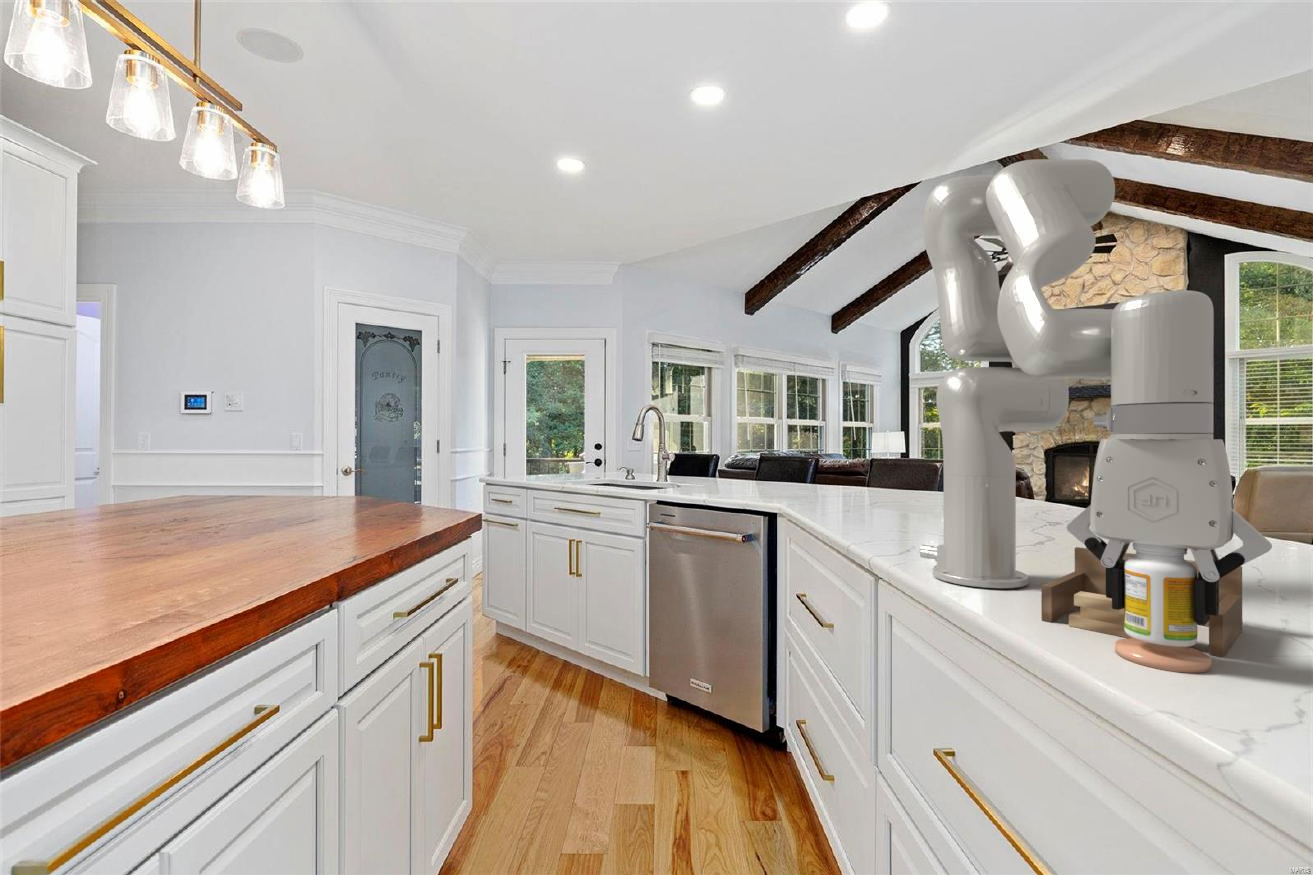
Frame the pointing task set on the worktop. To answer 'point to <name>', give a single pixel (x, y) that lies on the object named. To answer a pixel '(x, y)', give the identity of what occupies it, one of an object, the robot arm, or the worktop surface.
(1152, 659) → the terracotta coaster
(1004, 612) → the worktop surface
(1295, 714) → the worktop surface
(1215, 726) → the worktop surface
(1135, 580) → the supplement bottle
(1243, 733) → the worktop surface
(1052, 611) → the frame
